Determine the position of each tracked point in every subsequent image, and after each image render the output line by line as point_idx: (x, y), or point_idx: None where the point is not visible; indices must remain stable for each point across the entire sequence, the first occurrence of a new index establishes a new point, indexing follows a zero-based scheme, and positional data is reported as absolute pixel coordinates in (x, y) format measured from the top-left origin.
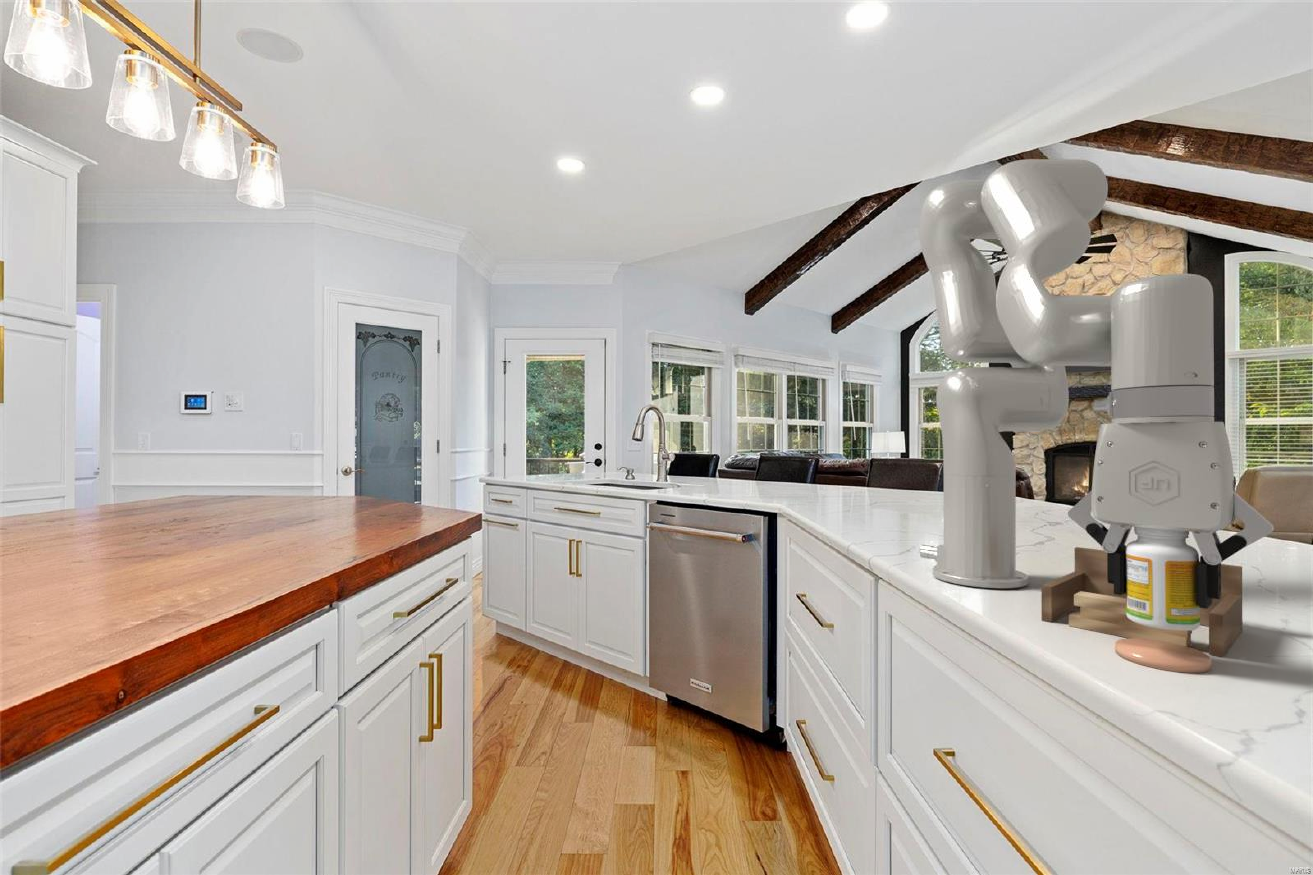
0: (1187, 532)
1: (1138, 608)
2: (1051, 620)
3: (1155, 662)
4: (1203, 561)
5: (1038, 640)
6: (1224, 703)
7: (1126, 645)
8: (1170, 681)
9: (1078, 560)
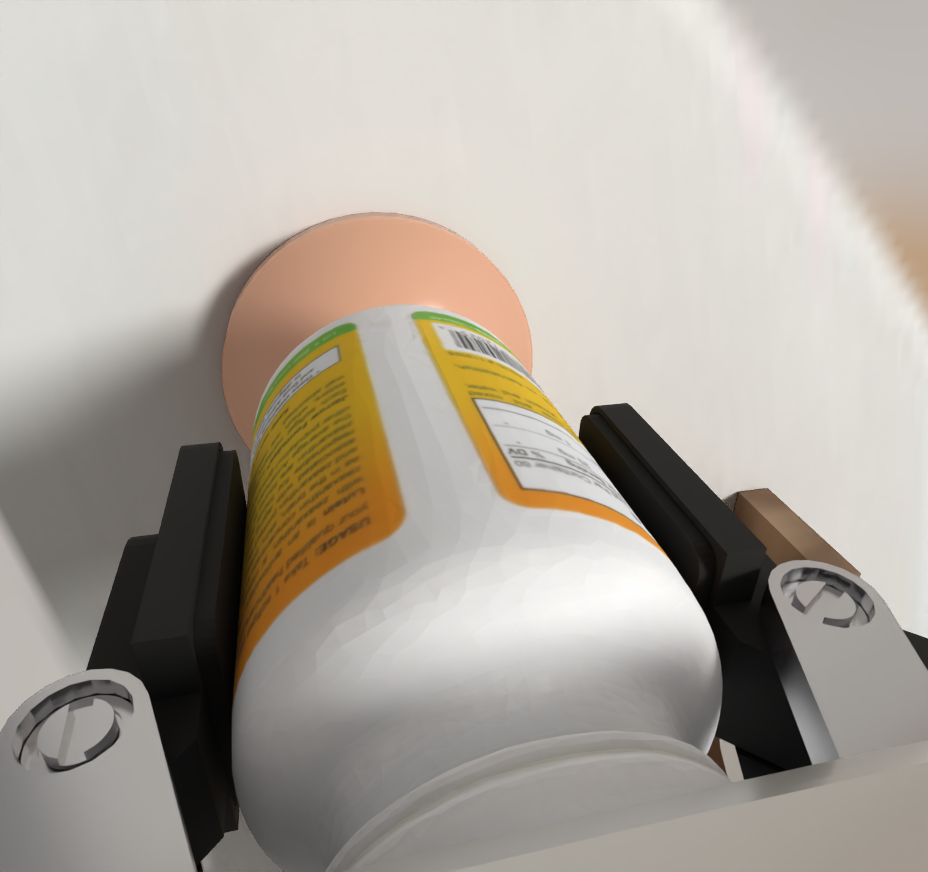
0: None
1: (486, 341)
2: (742, 496)
3: (365, 218)
4: (176, 707)
5: (762, 224)
6: None
7: (492, 333)
8: (273, 66)
9: None
